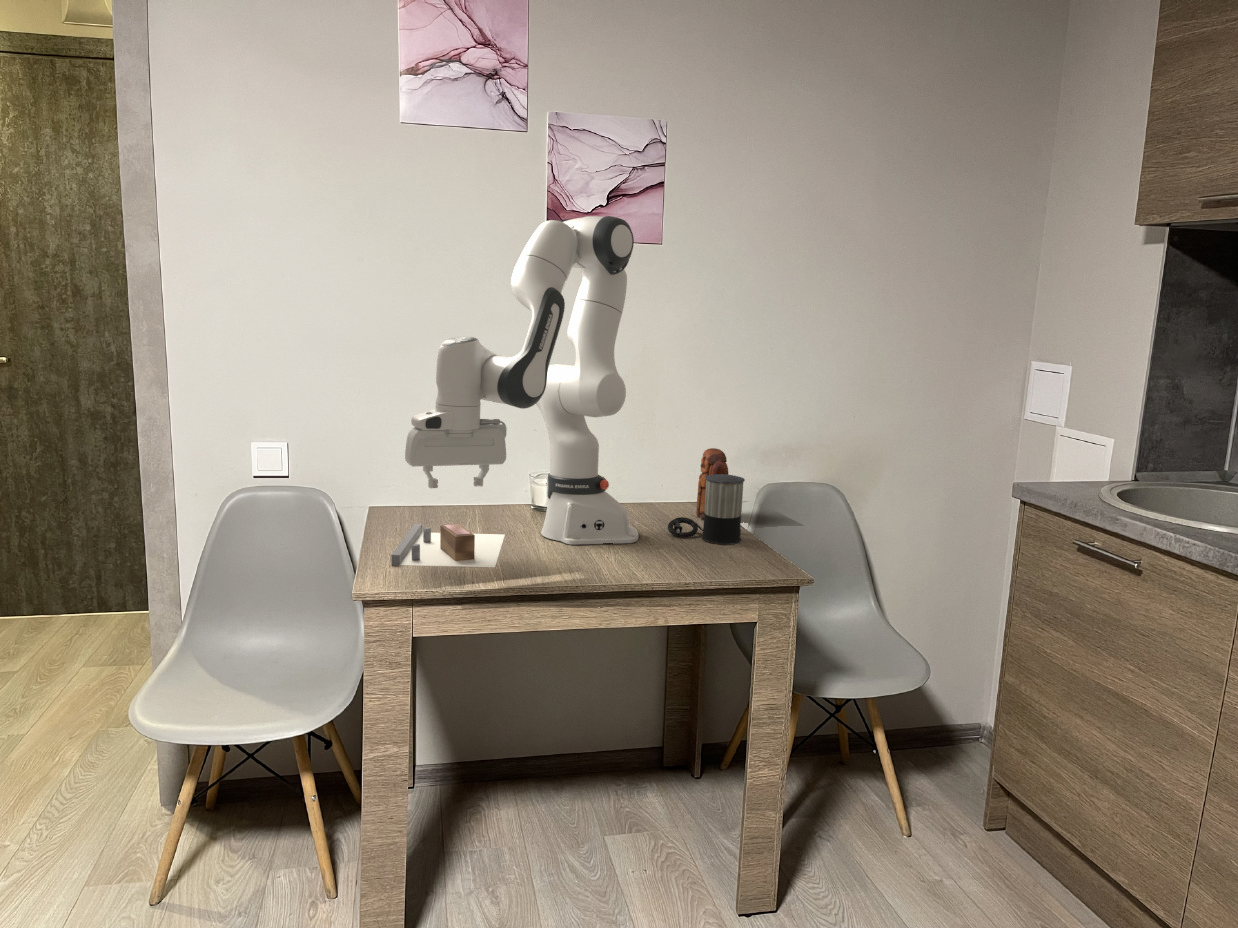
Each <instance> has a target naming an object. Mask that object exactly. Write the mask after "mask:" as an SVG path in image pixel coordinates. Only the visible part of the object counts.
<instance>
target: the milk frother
mask: <svg viewBox="0 0 1238 928" xmlns="http://www.w3.org/2000/svg"><path fill="white" fill-rule="evenodd" d="M705 479H706V493H705V513H704V520H703V527H701V526H700V524H698V523H697V522H696V521H695V520H693V519H692V518H688V517H685V516H681V517H675V518H673V519H672V520H670V521H669V522H668V524H667V530H668V532H669V533H670V534H671V535H673V536H676V537H681V538H691V537H693V536H695V535H696V534H697V533H698V531H699V529H700V530H701V532H702V534H701V540H702V541H704V542H707V541H708V542H707V543H709V544H715V543H718V544H717V545H734V544H733V543H736V544H739V543H741V541H742V538H741V534H742V533H741V532H742V531H741V530H742V529H741V522H742V511H743V510H742V509H743V493H744V492H743V491H744V482H746V481H745V480H746V479H745V478H744V477H742V476H738V475H733V474H728V475H723V474H714V475H708V476H705ZM682 524H686V525H689V526H690V527H691V528H692V529H691V530H690V531H686V532H683V526H682Z"/></svg>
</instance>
